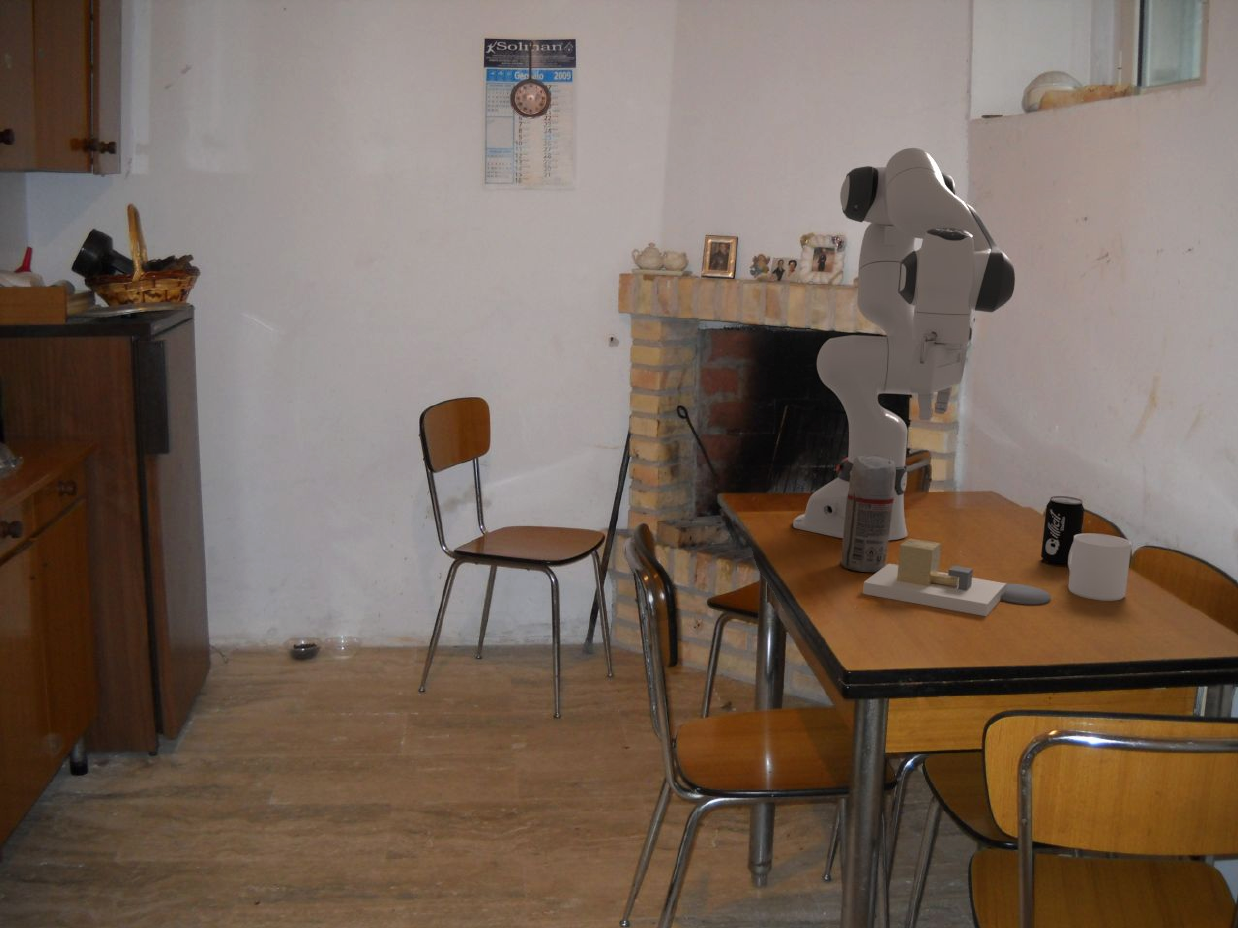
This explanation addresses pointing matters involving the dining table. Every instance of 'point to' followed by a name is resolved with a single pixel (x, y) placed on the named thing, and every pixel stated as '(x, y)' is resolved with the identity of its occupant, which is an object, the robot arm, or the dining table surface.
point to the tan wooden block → (922, 564)
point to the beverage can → (1061, 528)
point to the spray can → (868, 513)
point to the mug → (1099, 566)
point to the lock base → (939, 591)
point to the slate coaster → (1025, 595)
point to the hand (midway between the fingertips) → (933, 416)
